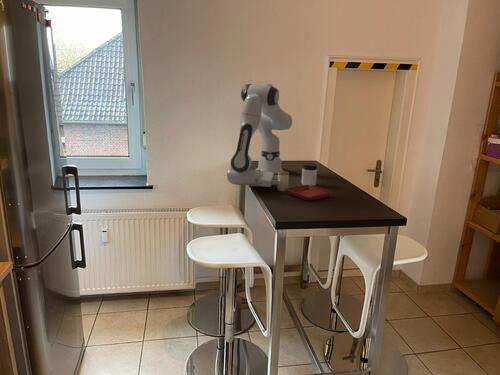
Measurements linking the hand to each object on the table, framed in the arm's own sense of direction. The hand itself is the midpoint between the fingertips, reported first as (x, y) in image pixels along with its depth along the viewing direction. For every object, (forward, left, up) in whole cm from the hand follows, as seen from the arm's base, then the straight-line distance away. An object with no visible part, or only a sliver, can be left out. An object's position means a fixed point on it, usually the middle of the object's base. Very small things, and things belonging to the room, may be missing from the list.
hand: (280, 179), depth 217 cm
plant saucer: (+8, +15, -6) cm, 18 cm away
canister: (0, +1, -6) cm, 6 cm away
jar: (-16, +16, -6) cm, 24 cm away
